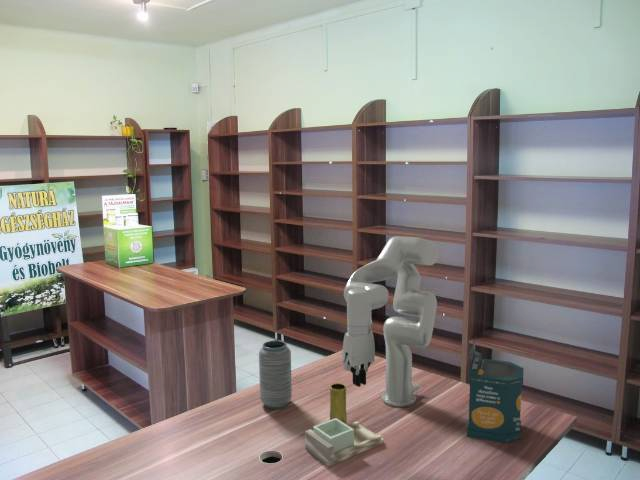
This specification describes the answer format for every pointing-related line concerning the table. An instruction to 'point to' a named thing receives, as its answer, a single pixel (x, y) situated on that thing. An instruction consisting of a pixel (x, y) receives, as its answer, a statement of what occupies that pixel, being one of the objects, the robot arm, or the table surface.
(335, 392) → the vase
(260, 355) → the vase
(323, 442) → the cream rectangular tray
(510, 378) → the donation box
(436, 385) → the table surface
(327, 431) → the box
